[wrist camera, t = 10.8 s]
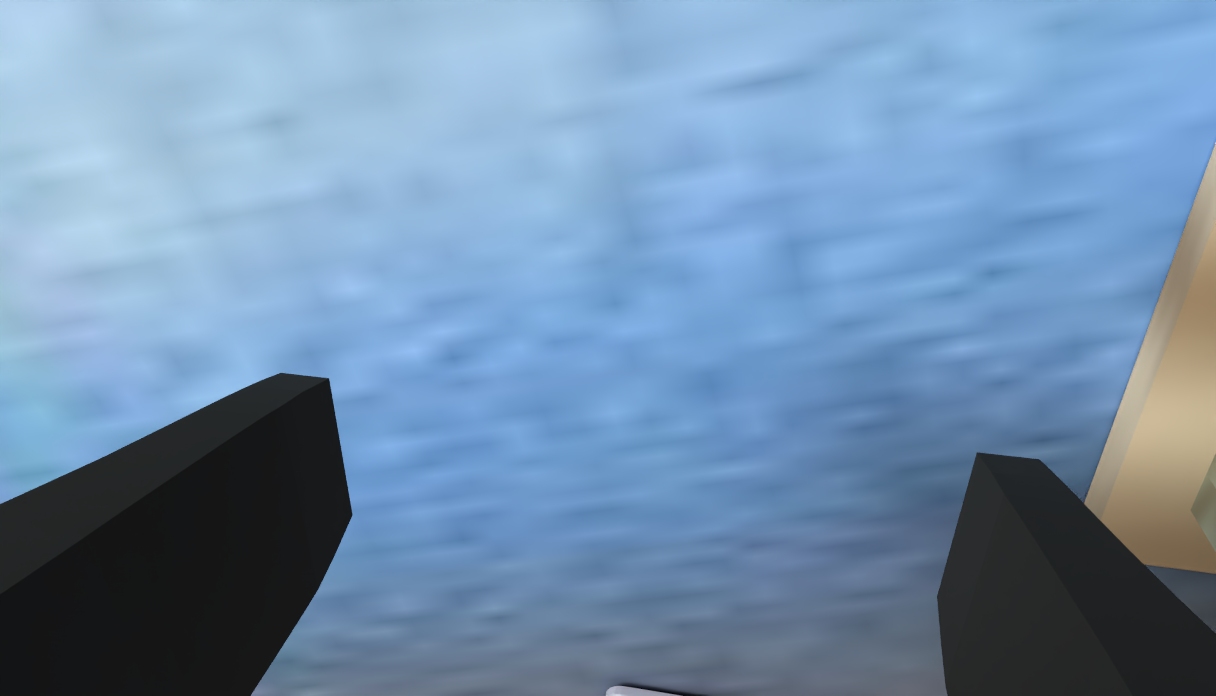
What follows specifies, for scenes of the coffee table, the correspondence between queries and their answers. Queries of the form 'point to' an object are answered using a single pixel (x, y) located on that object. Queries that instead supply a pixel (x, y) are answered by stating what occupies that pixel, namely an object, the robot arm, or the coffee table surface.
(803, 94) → the coffee table surface
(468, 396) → the coffee table surface
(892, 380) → the coffee table surface
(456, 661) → the coffee table surface
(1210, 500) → the socket stand
